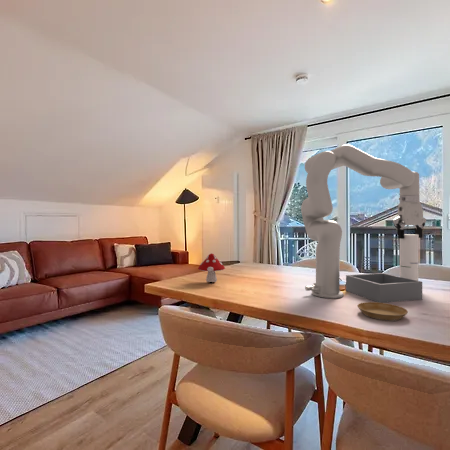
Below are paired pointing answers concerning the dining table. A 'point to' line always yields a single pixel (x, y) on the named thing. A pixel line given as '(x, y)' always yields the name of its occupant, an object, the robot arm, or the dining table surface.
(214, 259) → the decorative mushroom
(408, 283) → the walled bin
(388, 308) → the plant saucer
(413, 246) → the cylindrical container
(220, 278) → the dining table surface
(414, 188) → the robot arm
